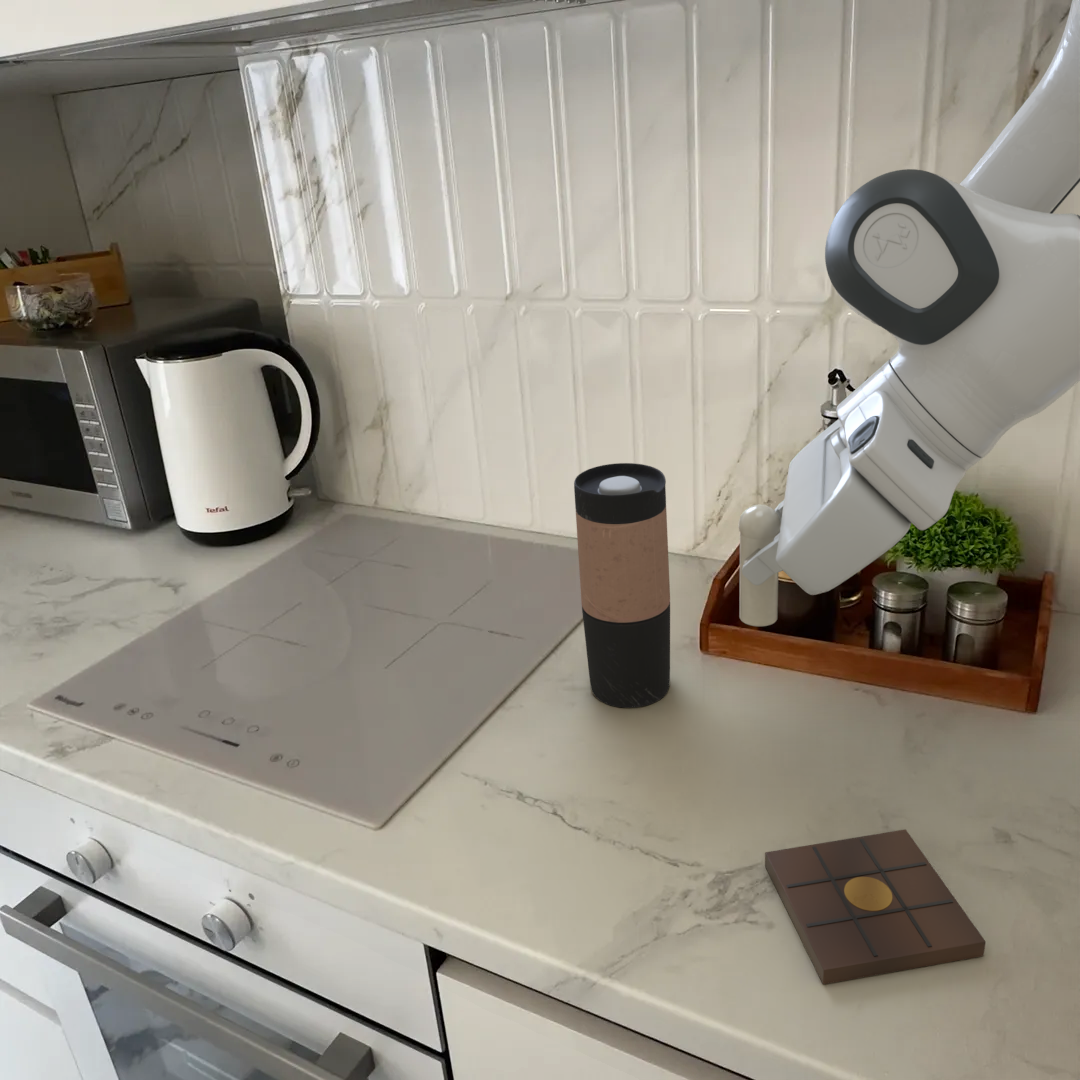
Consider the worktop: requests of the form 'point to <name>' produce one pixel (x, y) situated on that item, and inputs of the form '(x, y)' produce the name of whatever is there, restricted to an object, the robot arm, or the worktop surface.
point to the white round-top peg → (754, 533)
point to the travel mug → (624, 581)
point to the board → (871, 907)
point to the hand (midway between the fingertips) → (750, 563)
